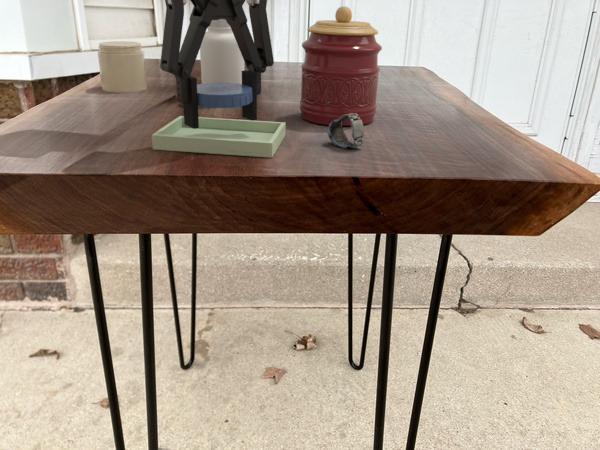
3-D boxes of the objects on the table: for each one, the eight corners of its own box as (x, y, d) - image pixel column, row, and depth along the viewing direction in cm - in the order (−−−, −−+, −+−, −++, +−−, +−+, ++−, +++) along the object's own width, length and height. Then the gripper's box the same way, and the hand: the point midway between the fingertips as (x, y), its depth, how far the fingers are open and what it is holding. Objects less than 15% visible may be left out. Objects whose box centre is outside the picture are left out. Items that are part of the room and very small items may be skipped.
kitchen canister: (384, 127, 85) (396, 9, 78) (305, 127, 83) (309, 7, 76) (364, 109, 97) (373, 5, 89) (294, 109, 95) (297, 3, 88)
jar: (95, 102, 96) (88, 44, 91) (115, 93, 103) (109, 40, 99) (137, 104, 95) (132, 46, 91) (154, 96, 102) (150, 42, 98)
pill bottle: (194, 100, 100) (189, 14, 93) (228, 95, 105) (226, 14, 98) (218, 107, 94) (215, 18, 88) (253, 102, 99) (253, 17, 93)
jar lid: (258, 96, 75) (258, 84, 75) (244, 109, 68) (244, 96, 67) (200, 93, 76) (199, 81, 76) (180, 106, 69) (179, 93, 68)
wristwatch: (352, 153, 76) (336, 124, 77) (372, 137, 72) (354, 105, 72) (337, 159, 74) (320, 129, 75) (355, 142, 70) (338, 110, 71)
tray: (152, 149, 70) (151, 134, 69) (180, 128, 80) (179, 115, 80) (272, 157, 69) (272, 143, 68) (285, 135, 79) (285, 122, 78)
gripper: (144, -72, 55) (161, 139, 65) (304, -58, 67) (298, 118, 77) (118, -69, 60) (137, 125, 70) (270, -56, 73) (269, 108, 82)
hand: (221, 122), depth 73 cm, fingers closed on jar lid, 8 cm apart
